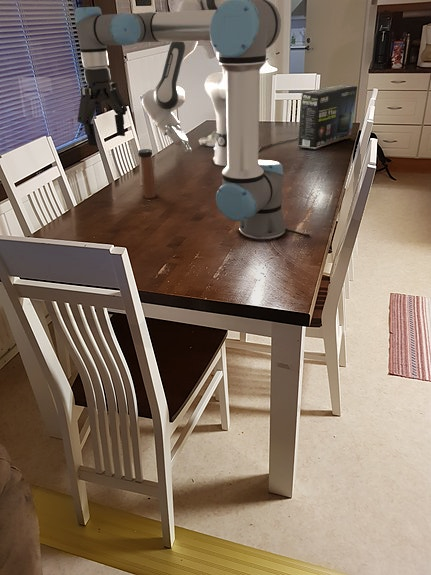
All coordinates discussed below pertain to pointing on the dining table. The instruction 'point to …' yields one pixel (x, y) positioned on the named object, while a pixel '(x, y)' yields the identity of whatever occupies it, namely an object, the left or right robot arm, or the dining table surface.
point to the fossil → (209, 140)
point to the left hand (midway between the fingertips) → (189, 152)
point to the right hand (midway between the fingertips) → (107, 140)
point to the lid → (145, 153)
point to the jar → (147, 177)
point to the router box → (326, 115)
